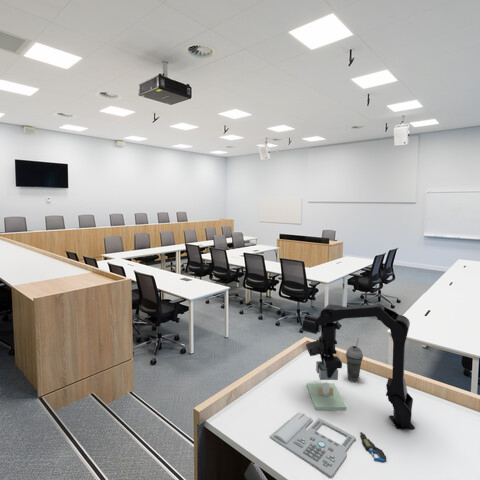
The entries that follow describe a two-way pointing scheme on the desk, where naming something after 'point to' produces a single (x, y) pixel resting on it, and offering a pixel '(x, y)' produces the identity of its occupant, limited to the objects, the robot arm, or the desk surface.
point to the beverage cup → (354, 362)
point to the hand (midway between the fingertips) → (326, 372)
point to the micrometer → (372, 448)
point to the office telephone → (313, 443)
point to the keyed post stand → (325, 396)
